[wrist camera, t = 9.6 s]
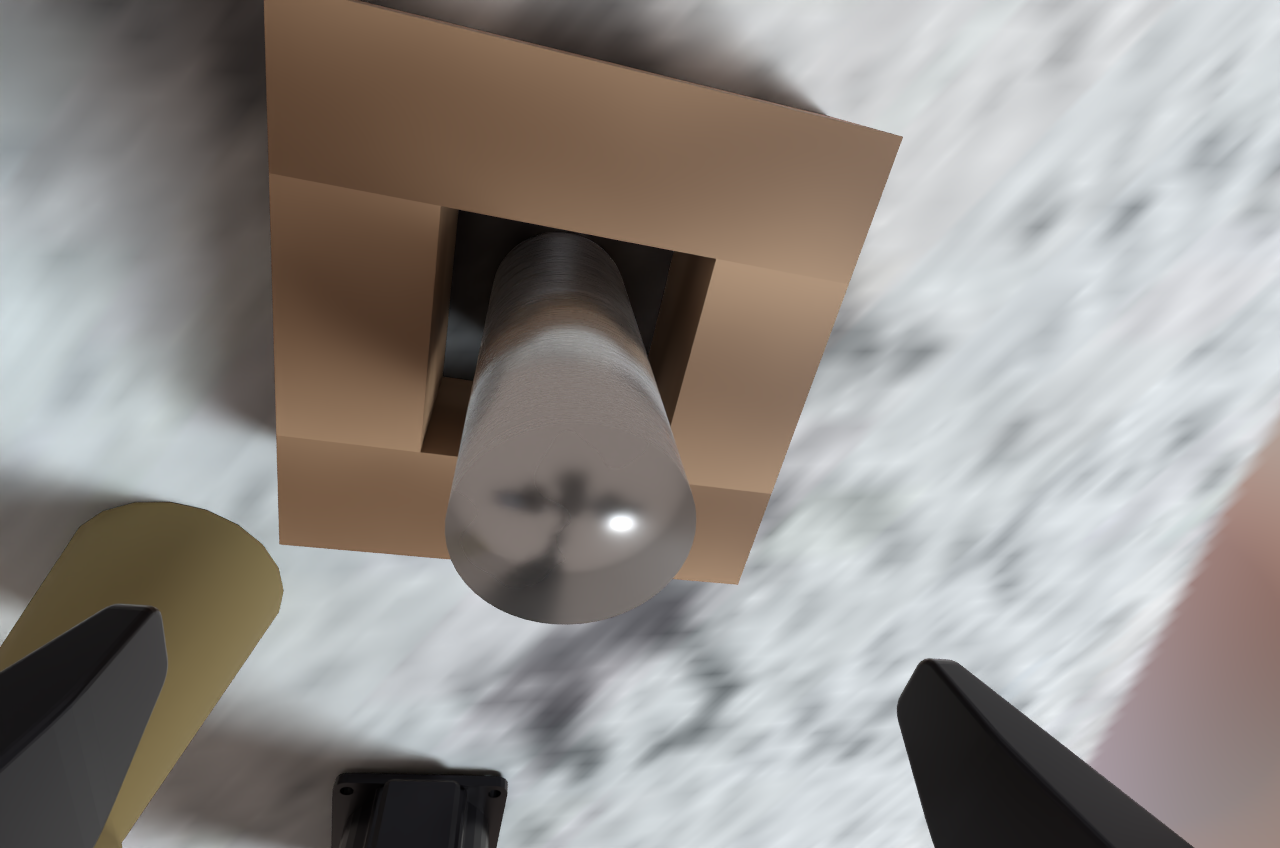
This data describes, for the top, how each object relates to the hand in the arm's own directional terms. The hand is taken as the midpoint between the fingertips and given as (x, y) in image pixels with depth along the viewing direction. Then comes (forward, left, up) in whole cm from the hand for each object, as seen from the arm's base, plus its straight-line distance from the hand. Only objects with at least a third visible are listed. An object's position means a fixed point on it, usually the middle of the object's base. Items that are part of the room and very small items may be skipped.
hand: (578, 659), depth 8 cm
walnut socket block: (0, 0, -12) cm, 12 cm away
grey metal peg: (0, 0, -12) cm, 12 cm away
